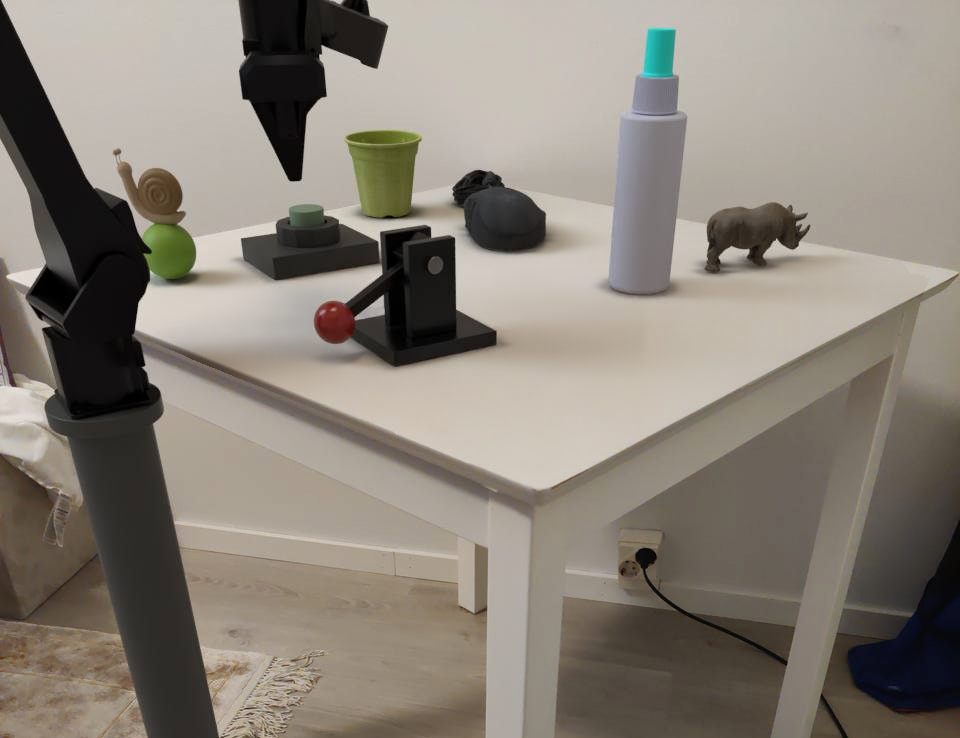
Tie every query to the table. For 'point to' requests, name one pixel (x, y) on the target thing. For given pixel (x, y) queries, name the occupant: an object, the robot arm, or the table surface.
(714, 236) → the rhino figurine
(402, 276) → the lever
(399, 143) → the plant pot
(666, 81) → the spray bottle
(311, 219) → the power button
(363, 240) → the box
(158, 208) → the snail figurine
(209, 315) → the table surface
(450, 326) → the switch bracket
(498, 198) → the dark rounded piece
